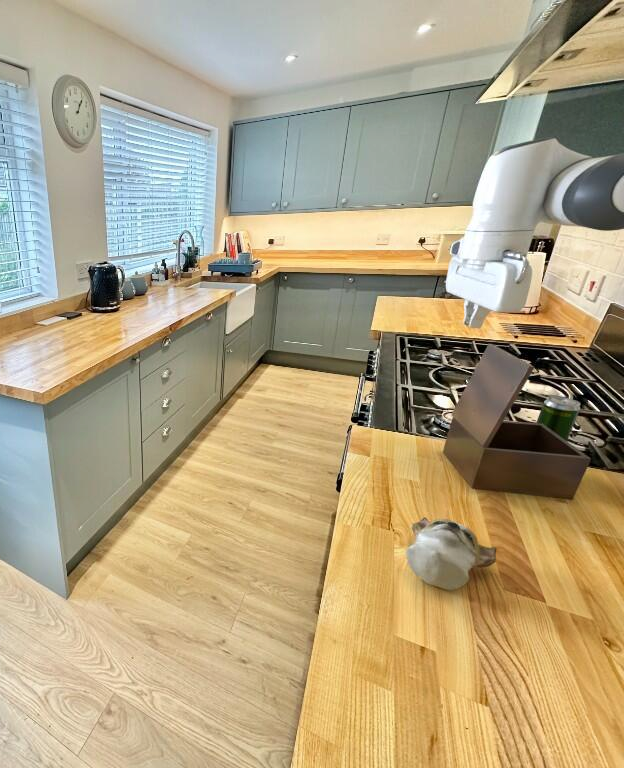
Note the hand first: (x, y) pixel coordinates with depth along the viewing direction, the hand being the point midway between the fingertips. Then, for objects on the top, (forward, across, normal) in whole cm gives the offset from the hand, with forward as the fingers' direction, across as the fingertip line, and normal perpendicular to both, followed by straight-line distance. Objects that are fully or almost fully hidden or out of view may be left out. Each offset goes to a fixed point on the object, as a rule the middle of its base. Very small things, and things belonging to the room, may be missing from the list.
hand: (471, 326), depth 77 cm
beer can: (+31, +12, -25) cm, 41 cm away
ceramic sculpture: (+31, -30, +9) cm, 44 cm away
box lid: (+13, 0, -6) cm, 15 cm away
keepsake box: (+30, 0, -12) cm, 33 cm away
